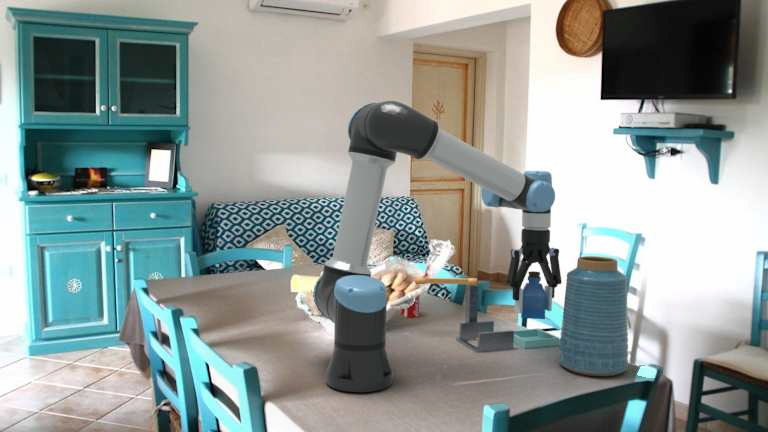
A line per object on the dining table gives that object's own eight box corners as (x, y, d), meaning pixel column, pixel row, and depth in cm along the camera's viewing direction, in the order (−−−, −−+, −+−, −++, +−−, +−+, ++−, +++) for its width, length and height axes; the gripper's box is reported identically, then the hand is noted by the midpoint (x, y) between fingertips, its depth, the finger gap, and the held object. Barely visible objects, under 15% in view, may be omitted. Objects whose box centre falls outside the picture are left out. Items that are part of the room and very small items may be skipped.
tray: (559, 347, 188) (559, 338, 188) (524, 350, 184) (525, 340, 184) (538, 337, 198) (538, 328, 198) (504, 339, 194) (505, 331, 194)
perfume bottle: (544, 319, 187) (546, 274, 186) (521, 317, 188) (522, 273, 187) (544, 314, 193) (545, 271, 192) (521, 312, 194) (522, 270, 193)
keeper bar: (415, 284, 194) (415, 278, 194) (415, 282, 197) (415, 276, 197) (477, 285, 194) (478, 279, 194) (476, 283, 197) (476, 277, 197)
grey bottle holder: (513, 349, 185) (515, 294, 183) (475, 352, 181) (477, 297, 180) (484, 334, 200) (486, 283, 199) (449, 337, 196) (450, 285, 195)
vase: (598, 355, 181) (603, 253, 179) (642, 374, 166) (648, 262, 163) (544, 361, 175) (549, 255, 173) (585, 381, 160) (591, 265, 157)
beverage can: (413, 322, 213) (414, 283, 212) (396, 319, 215) (397, 281, 214) (422, 318, 218) (423, 280, 217) (405, 316, 220) (406, 278, 219)
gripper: (561, 225, 195) (558, 305, 197) (494, 227, 188) (491, 310, 190) (577, 228, 188) (574, 311, 190) (508, 230, 181) (505, 316, 183)
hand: (533, 310), depth 190 cm, fingers closed on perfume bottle, 8 cm apart
